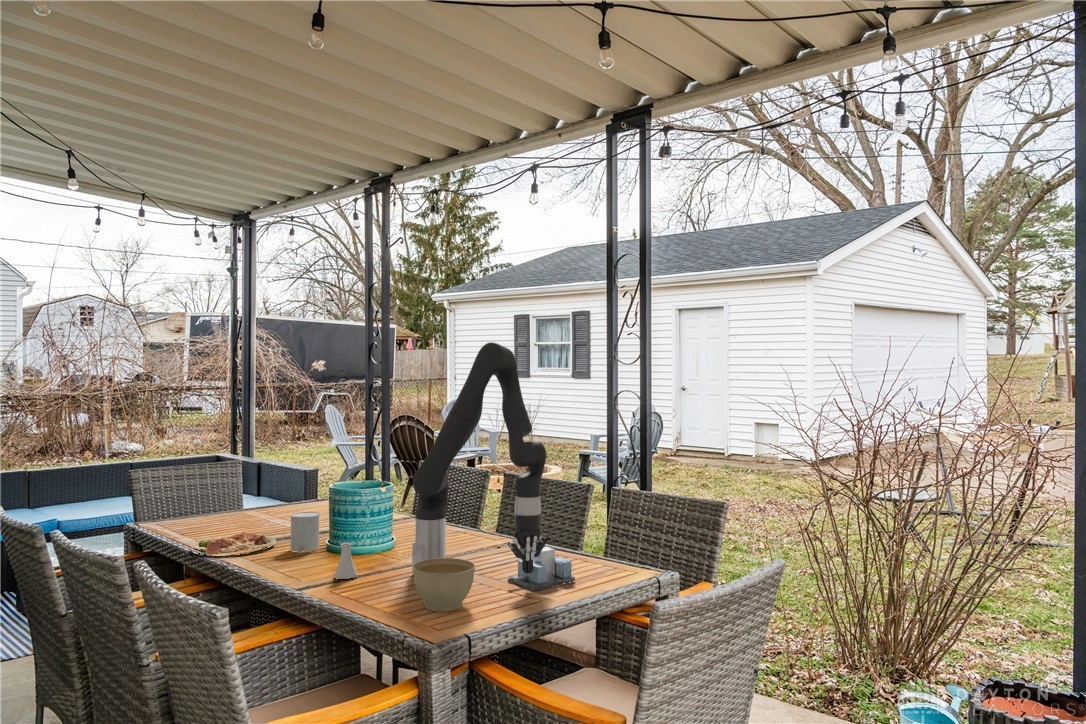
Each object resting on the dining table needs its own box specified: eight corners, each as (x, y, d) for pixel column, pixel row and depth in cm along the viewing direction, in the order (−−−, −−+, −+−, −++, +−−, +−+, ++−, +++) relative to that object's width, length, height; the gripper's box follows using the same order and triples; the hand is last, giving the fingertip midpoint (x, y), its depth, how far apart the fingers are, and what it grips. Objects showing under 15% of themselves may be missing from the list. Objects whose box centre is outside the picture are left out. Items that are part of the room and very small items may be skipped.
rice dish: (235, 565, 235) (235, 548, 235) (171, 554, 245) (171, 538, 245) (292, 546, 261) (293, 531, 261) (233, 537, 271) (233, 522, 271)
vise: (533, 591, 202) (533, 569, 203) (509, 581, 212) (509, 561, 212) (574, 582, 211) (574, 561, 212) (549, 573, 221) (550, 553, 221)
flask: (335, 582, 211) (336, 547, 211) (330, 576, 218) (331, 542, 218) (360, 579, 214) (361, 545, 215) (355, 573, 221) (355, 540, 221)
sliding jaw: (518, 588, 200) (518, 571, 201) (498, 580, 208) (498, 564, 209) (547, 582, 207) (547, 565, 207) (527, 574, 215) (527, 558, 215)
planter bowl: (448, 621, 177) (448, 576, 178) (399, 609, 186) (400, 567, 186) (487, 603, 191) (487, 562, 191) (440, 594, 200) (440, 554, 200)
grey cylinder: (284, 551, 248) (284, 515, 248) (303, 545, 257) (303, 511, 257) (306, 554, 244) (306, 517, 245) (325, 548, 253) (325, 513, 254)
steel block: (541, 579, 209) (541, 551, 209) (533, 576, 212) (533, 548, 213) (554, 576, 212) (555, 549, 212) (546, 573, 215) (546, 546, 216)
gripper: (538, 507, 213) (538, 566, 212) (501, 512, 204) (501, 573, 204) (554, 511, 207) (553, 572, 206) (516, 516, 198) (516, 579, 198)
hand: (527, 572), depth 205 cm, fingers closed
